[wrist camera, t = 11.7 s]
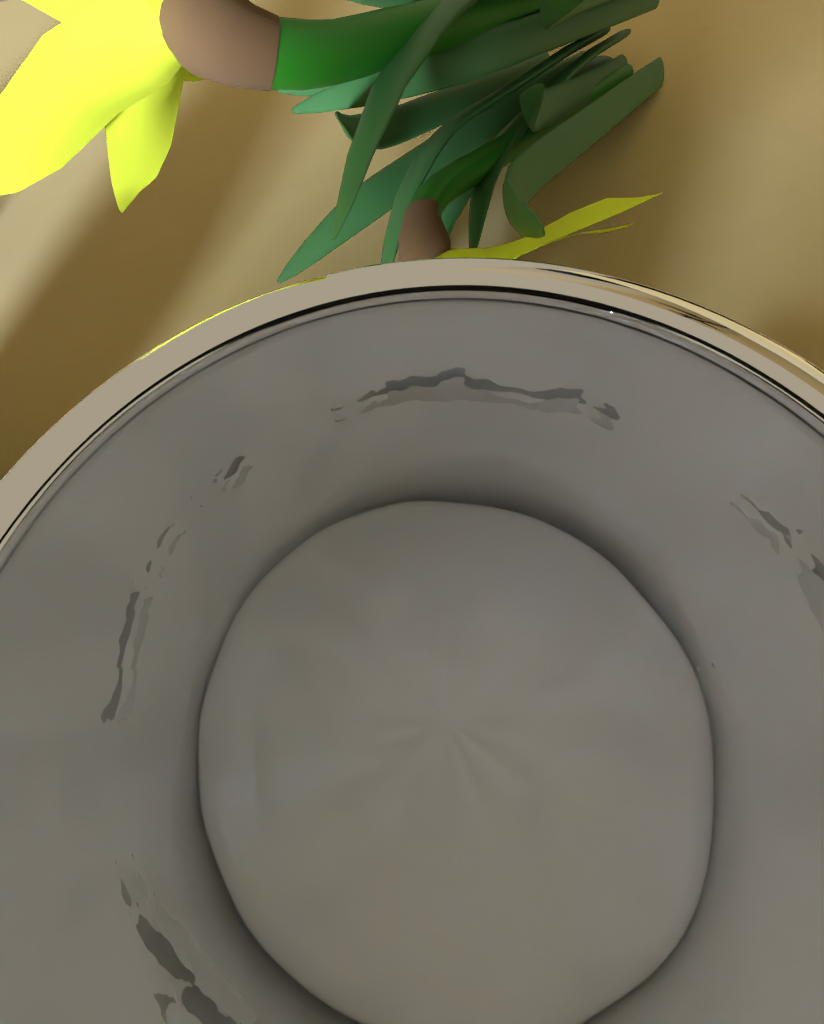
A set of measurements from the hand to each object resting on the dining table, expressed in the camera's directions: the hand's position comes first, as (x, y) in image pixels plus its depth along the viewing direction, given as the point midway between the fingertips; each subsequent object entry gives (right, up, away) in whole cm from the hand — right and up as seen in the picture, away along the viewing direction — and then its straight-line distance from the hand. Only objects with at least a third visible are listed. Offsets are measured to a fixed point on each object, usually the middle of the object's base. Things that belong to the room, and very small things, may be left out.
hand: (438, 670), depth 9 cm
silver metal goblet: (+1, -4, +8) cm, 9 cm away
